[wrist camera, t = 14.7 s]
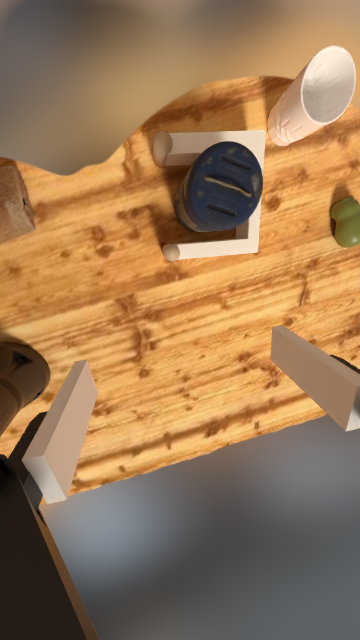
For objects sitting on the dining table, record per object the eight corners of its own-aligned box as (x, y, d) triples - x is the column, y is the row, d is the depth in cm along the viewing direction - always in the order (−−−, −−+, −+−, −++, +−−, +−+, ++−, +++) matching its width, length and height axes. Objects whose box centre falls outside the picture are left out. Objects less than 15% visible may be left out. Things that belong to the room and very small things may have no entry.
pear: (352, 250, 42) (340, 199, 40) (332, 252, 47) (320, 207, 45) (378, 238, 42) (368, 186, 40) (355, 242, 47) (345, 196, 45)
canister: (189, 164, 38) (221, 108, 21) (231, 195, 41) (288, 167, 24) (164, 215, 40) (174, 201, 24) (205, 241, 43) (240, 245, 26)
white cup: (294, 156, 40) (338, 132, 30) (257, 142, 38) (291, 112, 29) (312, 104, 37) (367, 60, 28) (273, 86, 35) (317, 33, 26)
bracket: (162, 258, 43) (164, 261, 37) (151, 148, 36) (152, 131, 30) (244, 251, 45) (258, 253, 39) (248, 144, 38) (267, 127, 32)
